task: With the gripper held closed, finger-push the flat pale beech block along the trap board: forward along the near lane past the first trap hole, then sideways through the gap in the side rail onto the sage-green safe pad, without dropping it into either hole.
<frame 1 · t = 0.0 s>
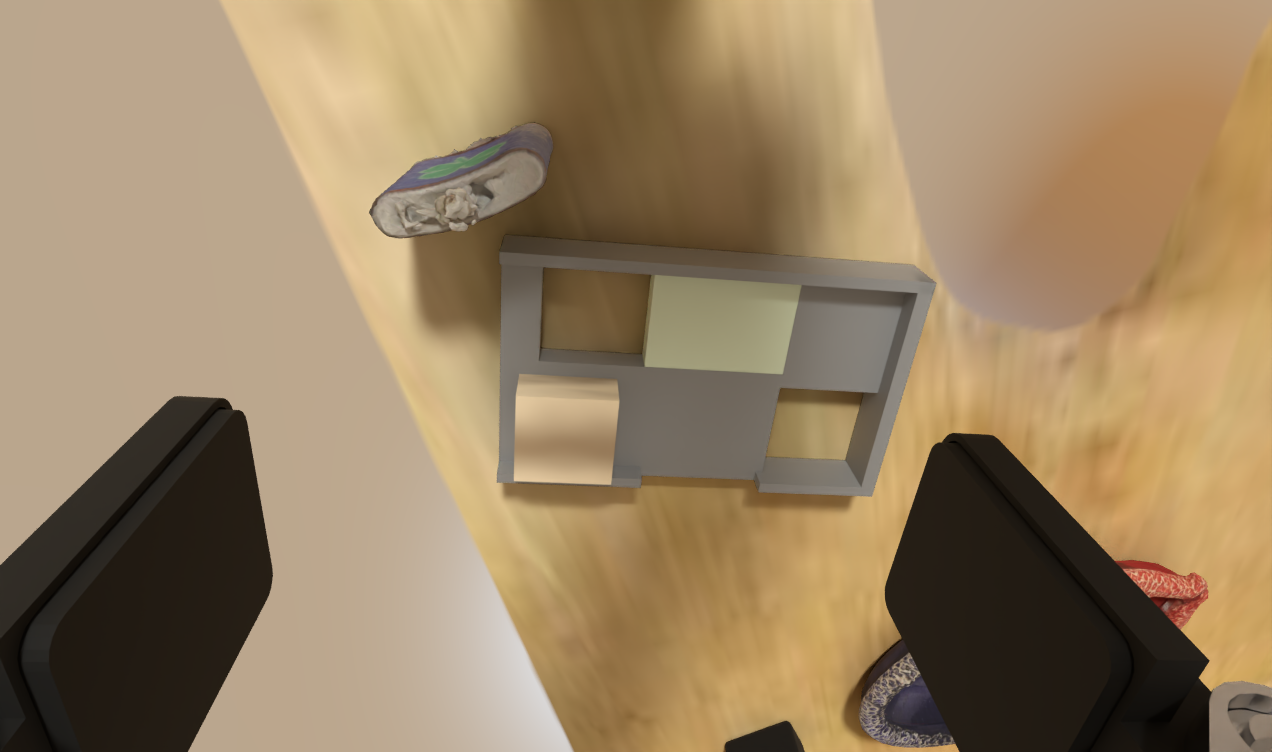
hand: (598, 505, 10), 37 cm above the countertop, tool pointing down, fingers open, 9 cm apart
beech block: (566, 418, 50), point 2 cm above the countertop, touching trap board
dish: (1003, 628, 66), on the countertop
battery: (762, 740, 70), on the countertop
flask: (480, 162, 44), on the countertop
trap board: (698, 363, 51), on the countertop
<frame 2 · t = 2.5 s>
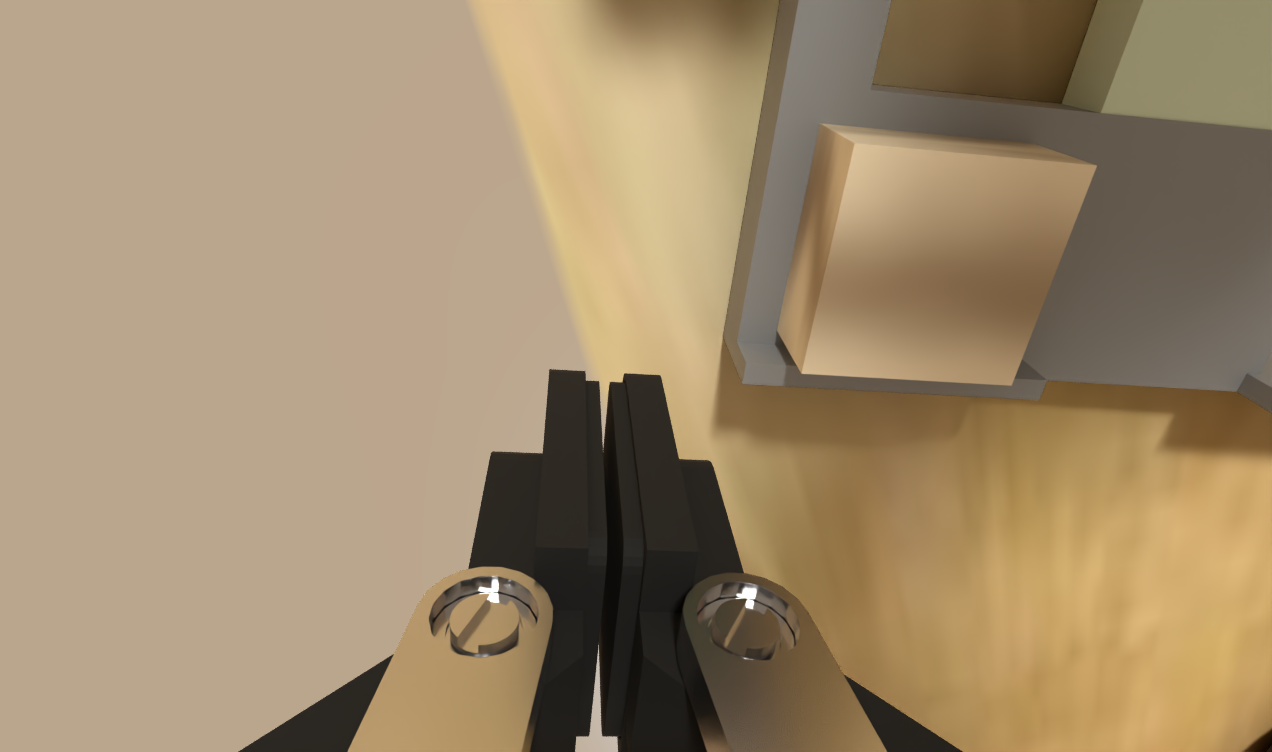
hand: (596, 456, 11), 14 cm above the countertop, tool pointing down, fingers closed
beech block: (898, 241, 22), point 2 cm above the countertop, touching trap board
trap board: (1170, 131, 23), on the countertop
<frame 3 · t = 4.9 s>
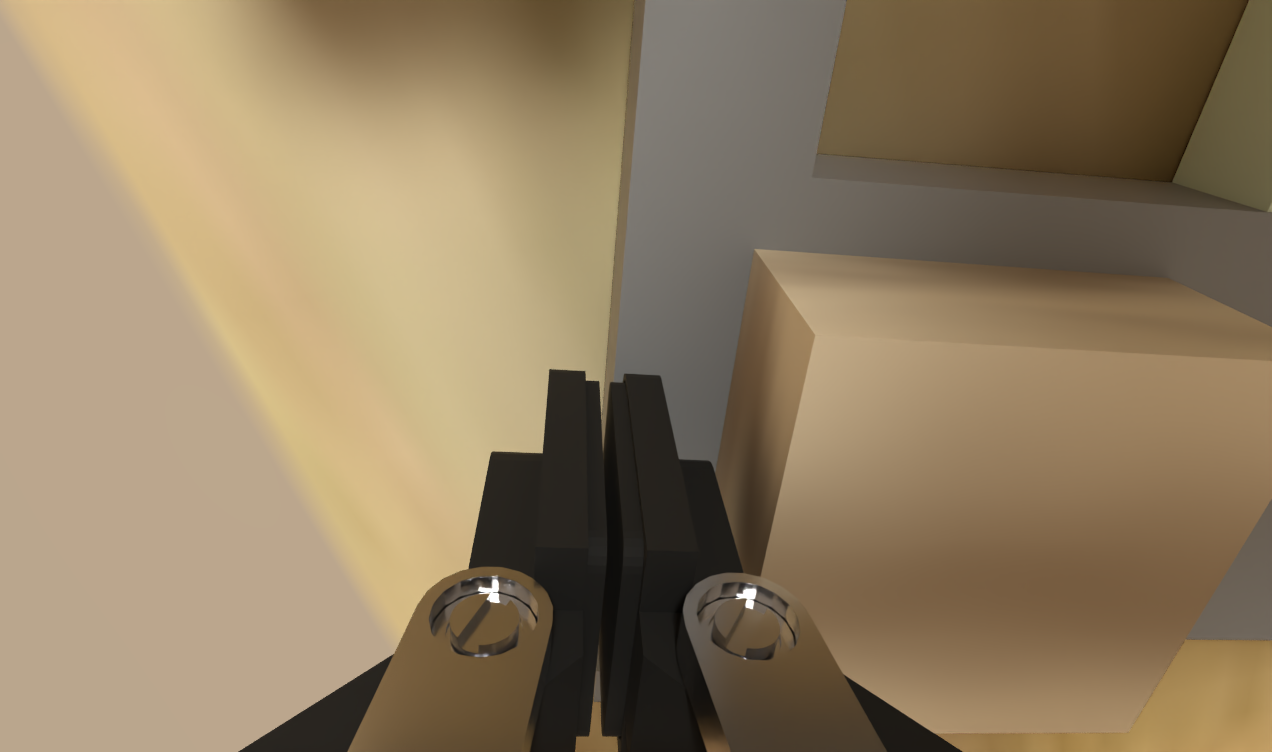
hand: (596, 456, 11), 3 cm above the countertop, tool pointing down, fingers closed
beech block: (909, 447, 12), point 2 cm above the countertop, touching trap board
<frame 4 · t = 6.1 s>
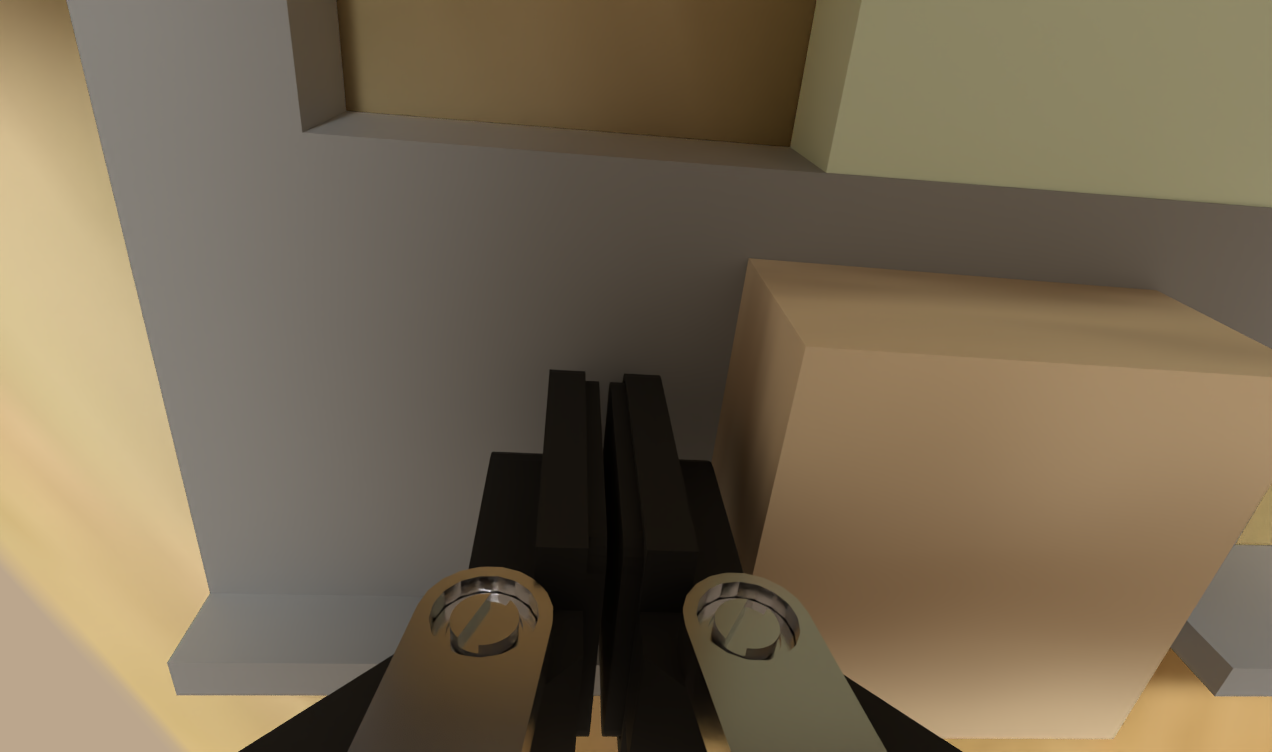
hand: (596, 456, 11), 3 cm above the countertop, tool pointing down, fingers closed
beech block: (900, 454, 12), point 2 cm above the countertop, touching gripper
trap board: (1010, 195, 12), on the countertop
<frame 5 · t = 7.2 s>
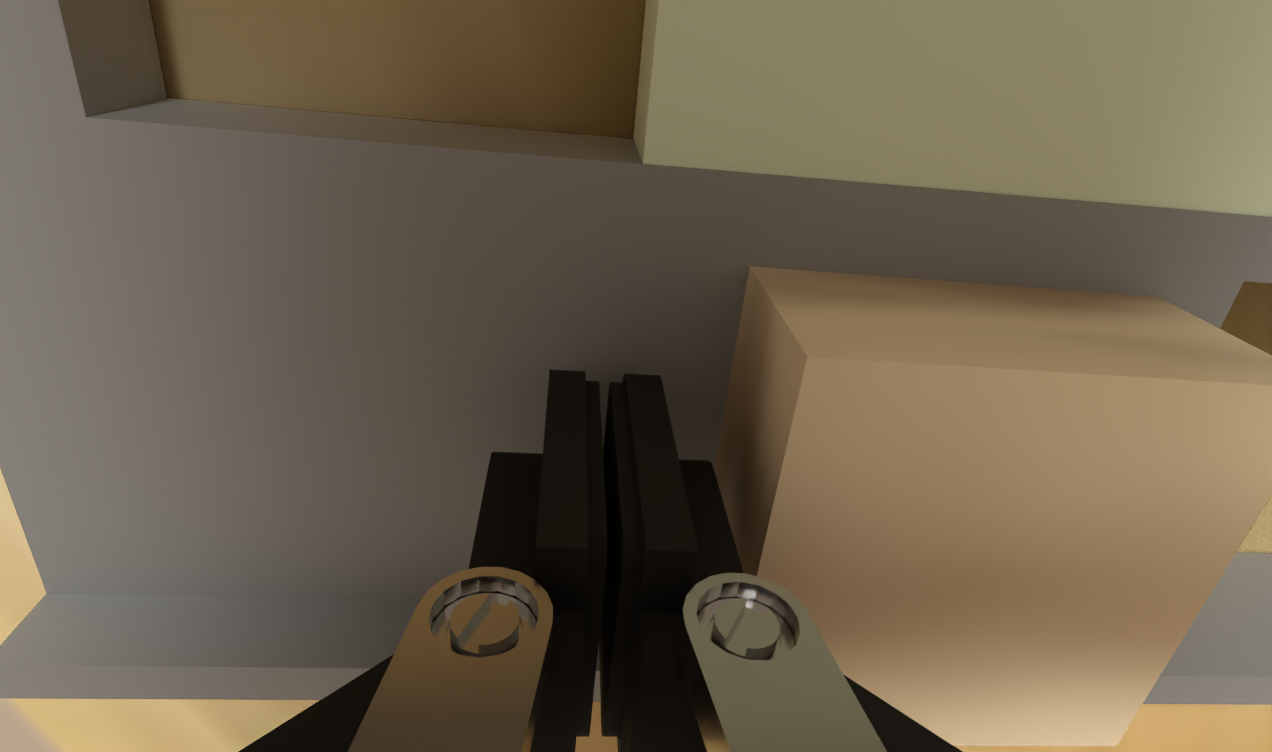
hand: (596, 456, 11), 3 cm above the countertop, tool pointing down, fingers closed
beech block: (902, 461, 12), point 2 cm above the countertop, touching gripper, trap board
trap board: (866, 190, 12), on the countertop
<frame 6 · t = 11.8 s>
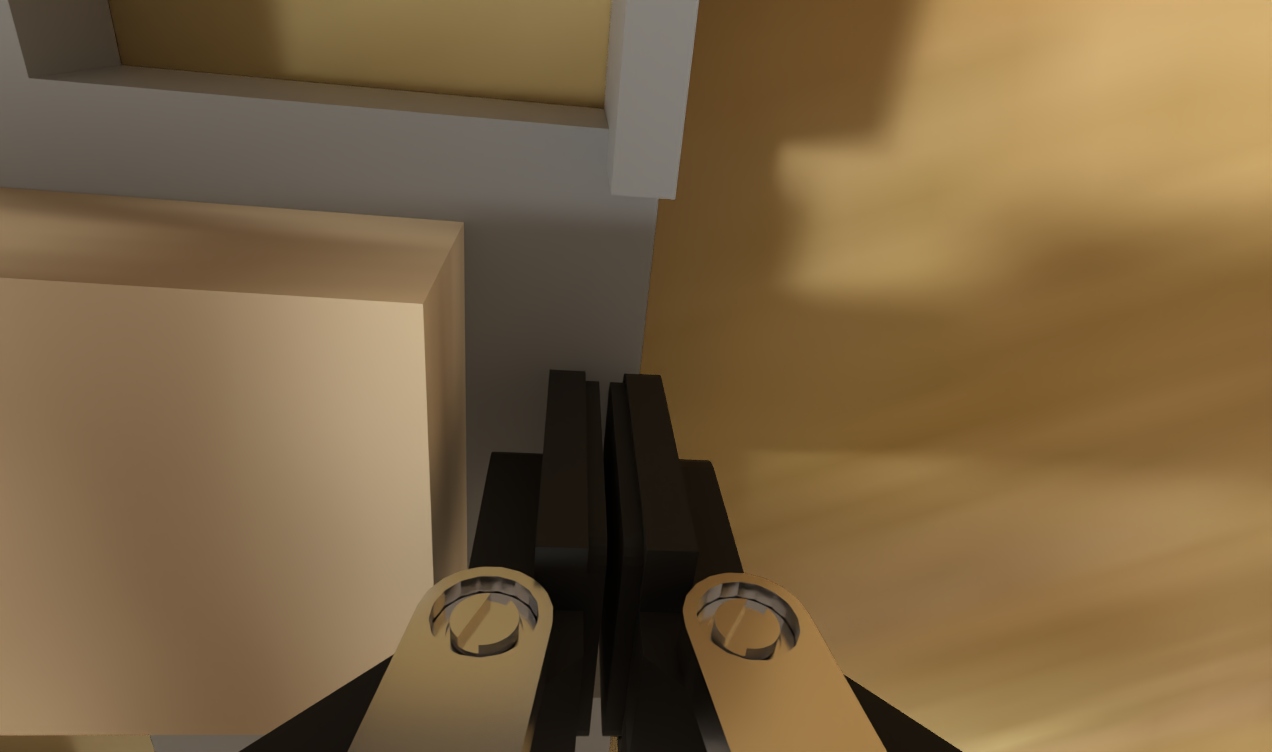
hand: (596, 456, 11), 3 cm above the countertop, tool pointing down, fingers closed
beech block: (248, 415, 11), point 2 cm above the countertop, touching gripper
trap board: (161, 395, 13), on the countertop
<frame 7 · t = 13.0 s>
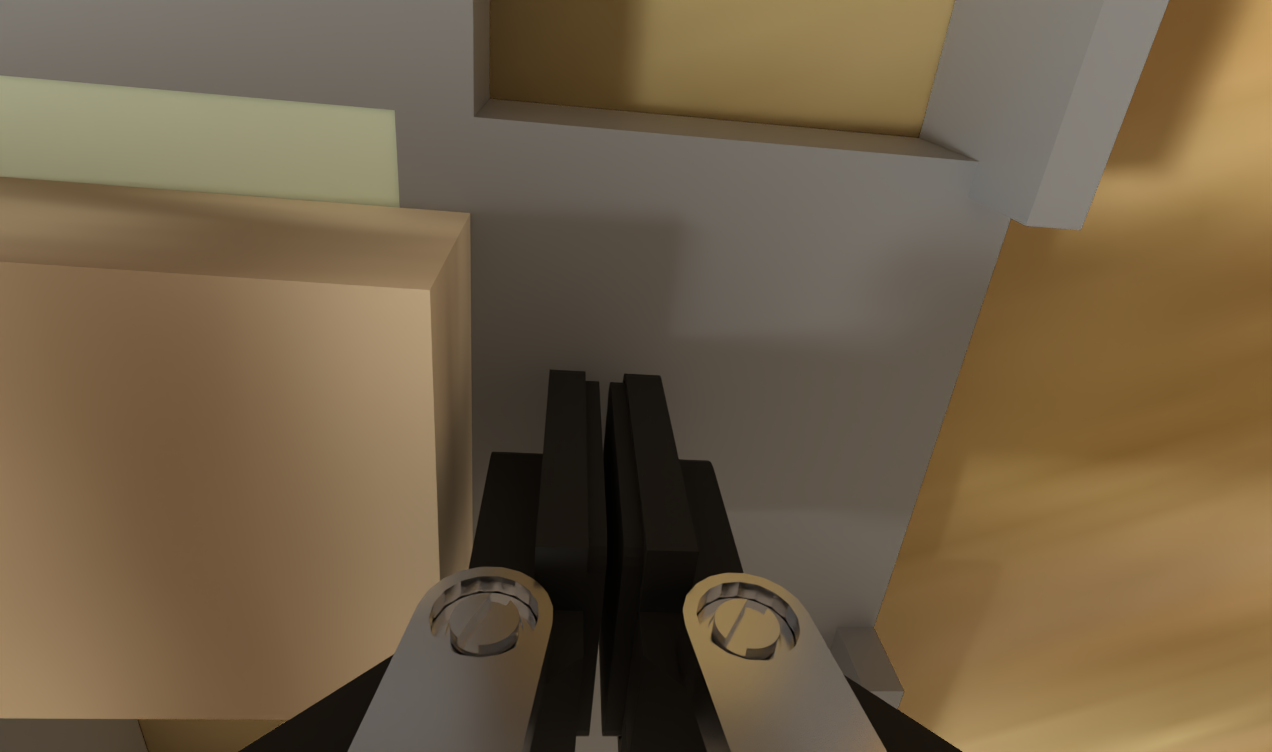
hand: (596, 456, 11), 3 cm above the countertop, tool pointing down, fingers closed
beech block: (256, 405, 11), point 2 cm above the countertop, touching gripper, trap board
trap board: (461, 405, 14), on the countertop
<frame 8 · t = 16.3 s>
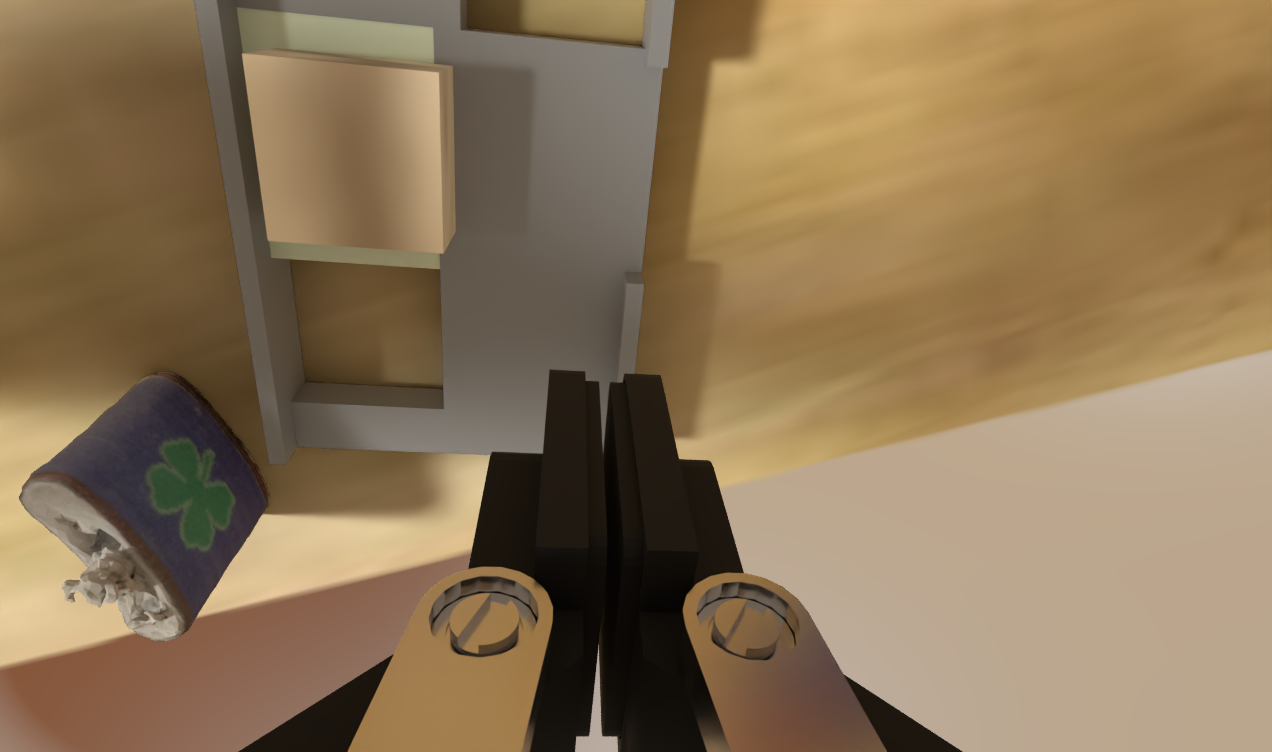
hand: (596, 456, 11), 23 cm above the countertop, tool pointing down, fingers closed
beech block: (371, 145, 29), point 2 cm above the countertop, touching trap board
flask: (214, 443, 37), on the countertop
trap board: (457, 167, 31), on the countertop
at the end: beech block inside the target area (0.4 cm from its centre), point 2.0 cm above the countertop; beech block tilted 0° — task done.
